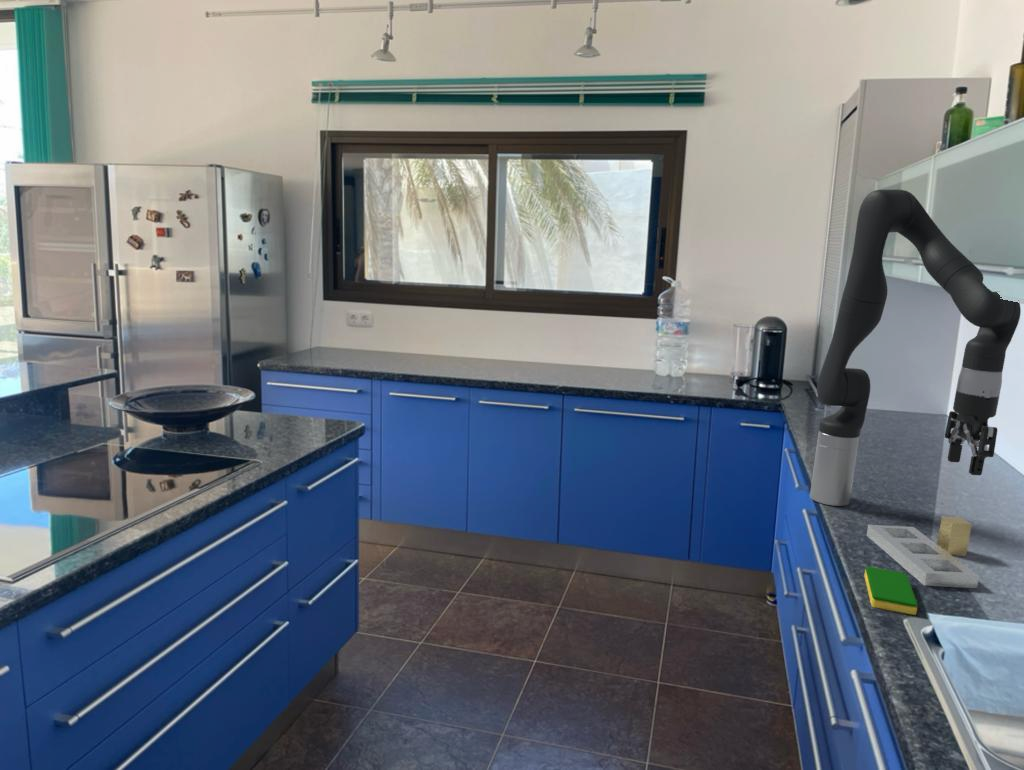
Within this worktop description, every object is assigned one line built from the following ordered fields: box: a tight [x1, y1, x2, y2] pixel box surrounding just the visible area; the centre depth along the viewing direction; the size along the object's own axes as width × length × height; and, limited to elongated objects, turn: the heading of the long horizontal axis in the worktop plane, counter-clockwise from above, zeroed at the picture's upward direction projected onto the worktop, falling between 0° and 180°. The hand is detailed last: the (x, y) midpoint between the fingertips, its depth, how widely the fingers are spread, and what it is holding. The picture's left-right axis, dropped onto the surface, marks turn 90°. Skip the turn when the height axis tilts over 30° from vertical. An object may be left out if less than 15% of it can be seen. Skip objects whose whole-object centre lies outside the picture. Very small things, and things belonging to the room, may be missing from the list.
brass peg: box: [936, 515, 973, 557], centre depth 160 cm, size 4×4×7 cm
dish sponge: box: [863, 565, 919, 616], centre depth 139 cm, size 7×14×2 cm, turn 161°
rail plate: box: [866, 524, 980, 589], centre depth 155 cm, size 24×10×2 cm, turn 0°
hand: (963, 468), depth 156 cm, fingers open, 8 cm apart
